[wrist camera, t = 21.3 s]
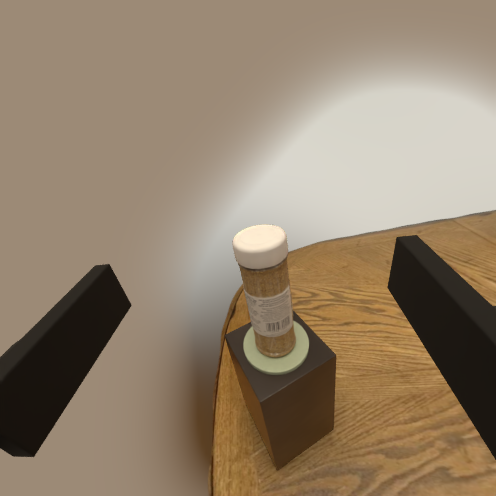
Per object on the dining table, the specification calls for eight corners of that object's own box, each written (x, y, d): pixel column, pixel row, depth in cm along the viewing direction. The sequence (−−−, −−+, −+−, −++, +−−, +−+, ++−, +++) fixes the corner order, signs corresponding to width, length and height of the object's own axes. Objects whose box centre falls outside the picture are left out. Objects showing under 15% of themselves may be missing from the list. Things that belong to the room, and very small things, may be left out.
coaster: (263, 389, 23) (262, 386, 23) (234, 336, 29) (233, 333, 29) (323, 352, 26) (323, 349, 25) (285, 310, 31) (284, 307, 31)
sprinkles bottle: (292, 322, 29) (283, 219, 22) (299, 357, 25) (290, 244, 18) (254, 327, 29) (232, 226, 23) (255, 362, 25) (229, 252, 19)
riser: (277, 471, 31) (259, 402, 22) (245, 404, 38) (224, 334, 30) (333, 429, 33) (336, 355, 25) (294, 374, 41) (286, 303, 32)
